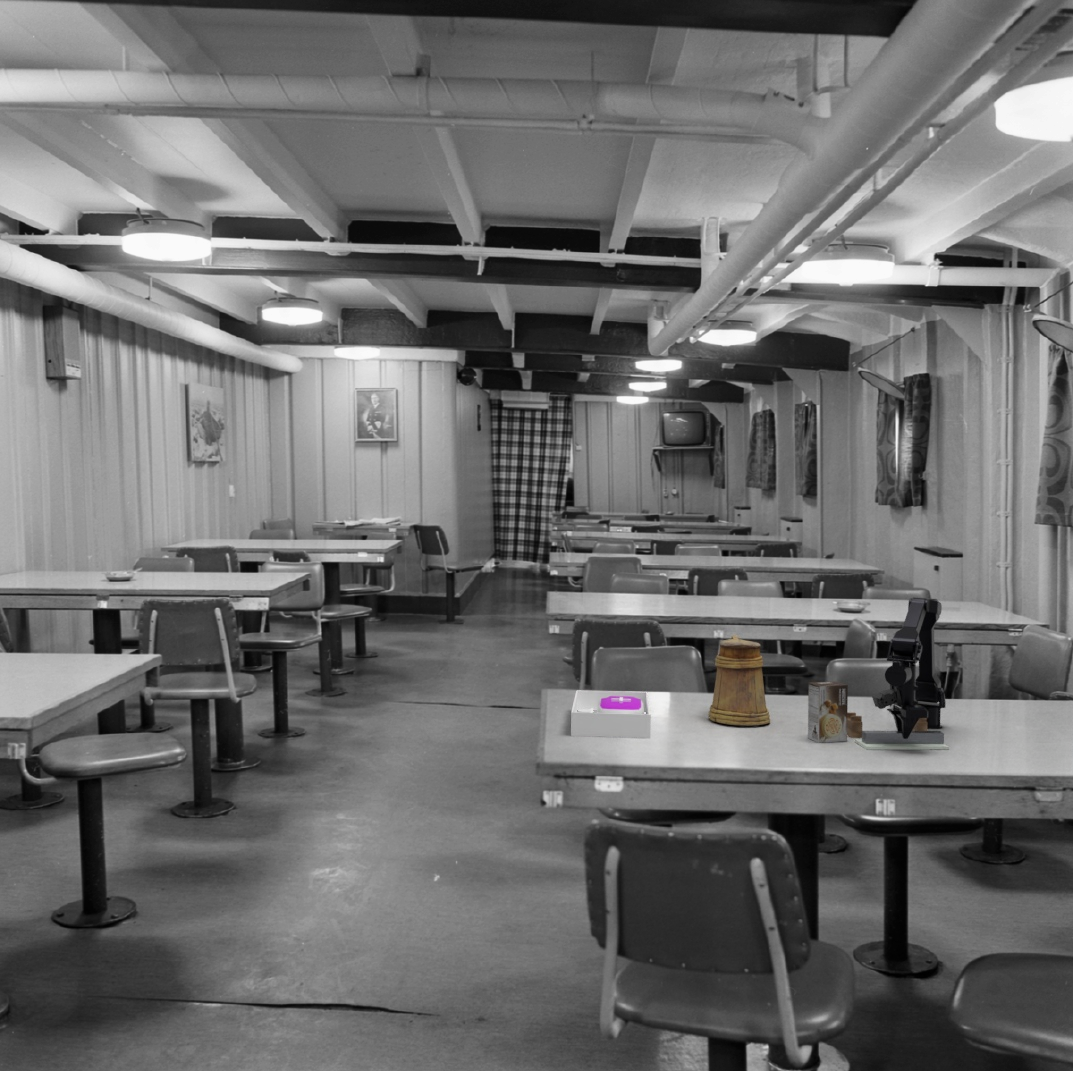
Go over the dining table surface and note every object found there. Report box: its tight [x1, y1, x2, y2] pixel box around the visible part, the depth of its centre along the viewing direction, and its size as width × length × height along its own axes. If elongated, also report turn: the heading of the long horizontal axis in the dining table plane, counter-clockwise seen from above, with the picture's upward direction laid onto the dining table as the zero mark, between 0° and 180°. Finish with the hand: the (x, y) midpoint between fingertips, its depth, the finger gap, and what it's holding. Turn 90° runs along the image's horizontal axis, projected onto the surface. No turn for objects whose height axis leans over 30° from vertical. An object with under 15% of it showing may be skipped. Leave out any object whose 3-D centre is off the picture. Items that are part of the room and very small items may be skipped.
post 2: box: [912, 718, 928, 731], centre depth 303 cm, size 3×7×6 cm, turn 3°
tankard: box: [708, 634, 771, 726], centre depth 321 cm, size 18×24×25 cm
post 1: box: [847, 711, 863, 739], centre depth 302 cm, size 3×7×6 cm, turn 3°
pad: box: [854, 738, 950, 751], centre depth 290 cm, size 23×9×1 cm, turn 93°
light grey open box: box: [570, 689, 652, 739], centre depth 313 cm, size 22×35×7 cm, turn 175°
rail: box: [861, 730, 945, 744], centre depth 290 cm, size 22×3×3 cm, turn 93°
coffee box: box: [807, 681, 849, 744], centre depth 295 cm, size 9×6×16 cm
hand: (903, 737), depth 290 cm, fingers closed on rail, 3 cm apart
